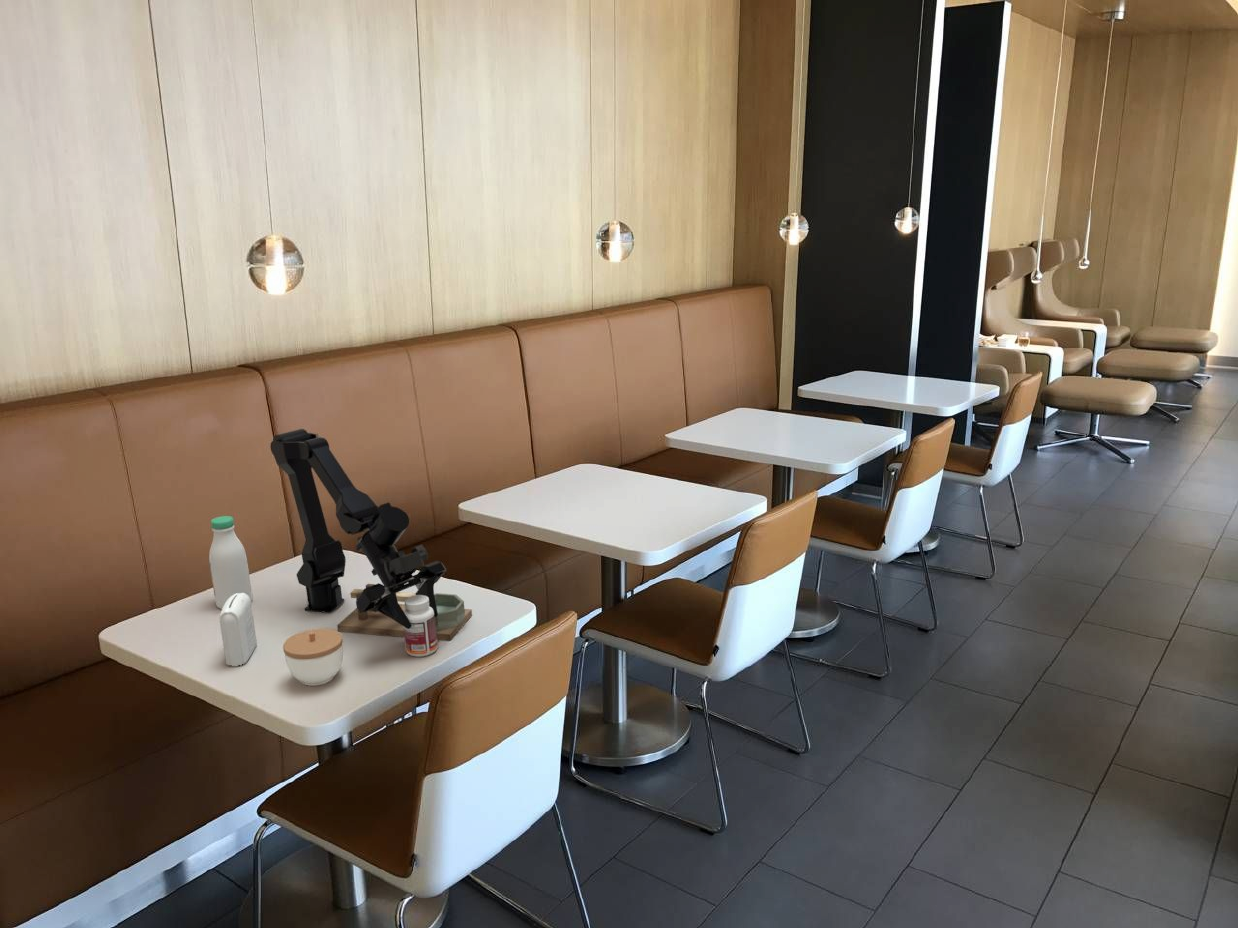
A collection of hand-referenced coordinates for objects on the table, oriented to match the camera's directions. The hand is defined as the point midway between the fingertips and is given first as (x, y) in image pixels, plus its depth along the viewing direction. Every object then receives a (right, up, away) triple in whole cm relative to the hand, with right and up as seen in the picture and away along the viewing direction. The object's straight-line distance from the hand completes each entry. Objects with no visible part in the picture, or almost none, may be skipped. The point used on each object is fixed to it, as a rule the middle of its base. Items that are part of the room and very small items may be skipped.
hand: (423, 622), depth 201 cm
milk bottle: (-47, 0, +28) cm, 55 cm away
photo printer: (-37, -7, +3) cm, 38 cm away
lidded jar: (-19, -10, -7) cm, 22 cm away
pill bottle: (-1, -6, +3) cm, 7 cm away
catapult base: (-7, -3, +15) cm, 17 cm away
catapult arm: (-6, -1, +14) cm, 16 cm away
